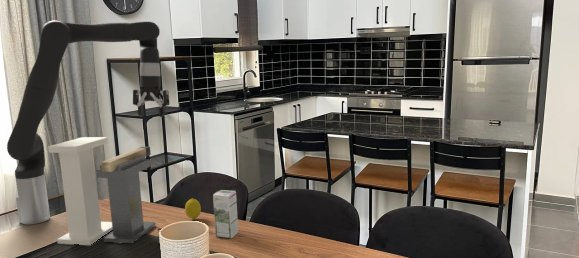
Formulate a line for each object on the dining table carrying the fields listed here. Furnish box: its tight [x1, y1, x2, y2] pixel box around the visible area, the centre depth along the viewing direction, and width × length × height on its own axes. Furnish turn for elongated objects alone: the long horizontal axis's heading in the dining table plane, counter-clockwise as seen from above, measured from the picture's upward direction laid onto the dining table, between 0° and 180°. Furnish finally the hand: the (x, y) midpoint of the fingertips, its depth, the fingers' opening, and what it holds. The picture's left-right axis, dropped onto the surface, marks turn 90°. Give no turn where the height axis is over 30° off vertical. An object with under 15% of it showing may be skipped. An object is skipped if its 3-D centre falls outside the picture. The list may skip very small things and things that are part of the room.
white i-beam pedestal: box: [47, 136, 113, 246], centre depth 144 cm, size 12×16×32 cm
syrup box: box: [212, 189, 239, 239], centre depth 141 cm, size 6×6×14 cm
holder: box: [95, 155, 156, 243], centre depth 143 cm, size 10×15×26 cm, turn 169°
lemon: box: [184, 198, 202, 221], centre depth 156 cm, size 6×6×8 cm
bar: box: [100, 146, 152, 172], centre depth 144 cm, size 3×24×3 cm, turn 169°
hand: (151, 116), depth 170 cm, fingers open, 8 cm apart
